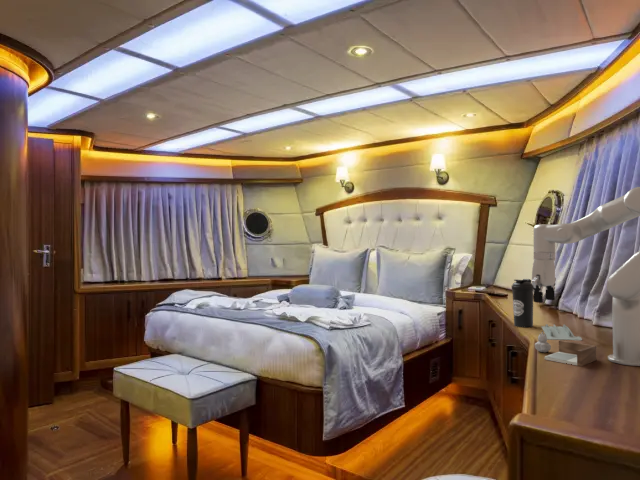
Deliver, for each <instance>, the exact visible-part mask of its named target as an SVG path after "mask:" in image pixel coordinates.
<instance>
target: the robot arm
mask: <svg viewBox="0 0 640 480" xmlns="http://www.w3.org/2000/svg"><path fill="white" fill-rule="evenodd" d="M638 217H640V186H638V187H637V186H636V187H634V188H631V189H630V190H629V191H627V193H626V194H624V195H622V196H619V197H617V198H615V199H613V200H611V201H608V202H607V203H603V204H601V205H600V206H598V207H596V209H594V211H593V212H591V213H590V214H587V215H586V216H584V217H582V218H580V219H578V220H574V221H572V222H571V223H568V222H567V223H557V224H543V223H542V224H536V225H534V227H533V263H532V271H531V283H532V285H533V286H532V287H533V303H543V302H544V299H543V298H544V297H543V296H544V292H543V288H544V287H545V300H547V301H555V298H556V297H555V289H556V280H557V278H556V269H555V268H556V267H555V261H556V244H562V245H564V244H567V245H568V244H575V243H577V242H580V241H583V240H585V239H588V238H590V237H592V236H595V235H597V234H599V233H602V232H605V231H607V230H610V229H612V228H614V227H616V226H619V225H621V224H624V223H625V222H627V221H628V222H629V221H631V220H633V219H636V218H638ZM606 289H607V292H608V293H609V294H610V296H611V297H612V303H611V315H612V316H611V319H612V354H609V355H607V359H608V361H610V362H612V363H616V364H620V365H624V366H632V367H633V366H634V367H640V249H639V250H638V251H636V252H635V253H634V254H633V255H632V256H631V257H630V258H628V259H627V260H626V261H625V262H623V263H622V265H621V266H620V267H618V269H616V270H615V271H614V272H613V273H612V274H610V276H609V277H608V279H607V281H606Z"/></svg>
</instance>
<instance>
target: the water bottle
mask: <svg viewBox="0 0 640 480" xmlns="http://www.w3.org/2000/svg"><path fill="white" fill-rule="evenodd" d="M513 281H514V283H512V285H511V291H512V309H513V325H514V326H513V327H517V328H533V327H534V291H533V287H532V286H533V285H532V279H529V278H523V279H513Z"/></svg>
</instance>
